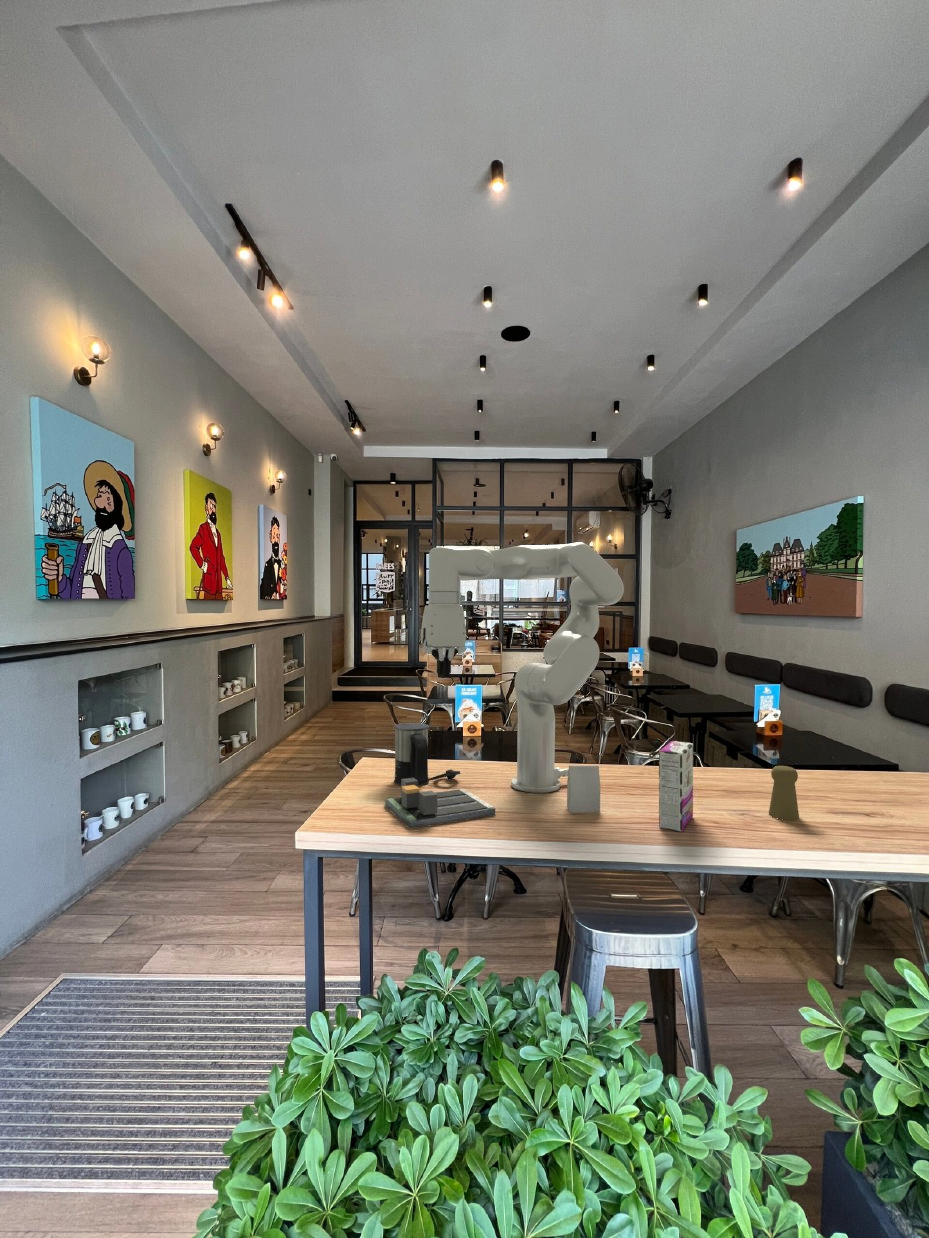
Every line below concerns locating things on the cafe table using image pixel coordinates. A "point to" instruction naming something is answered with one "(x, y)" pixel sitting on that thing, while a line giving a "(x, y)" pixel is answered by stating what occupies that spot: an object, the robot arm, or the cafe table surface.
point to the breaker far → (408, 782)
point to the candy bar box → (675, 785)
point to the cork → (784, 794)
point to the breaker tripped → (410, 796)
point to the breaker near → (428, 802)
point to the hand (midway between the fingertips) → (443, 677)
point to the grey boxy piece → (583, 789)
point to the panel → (443, 809)
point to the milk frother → (414, 754)
